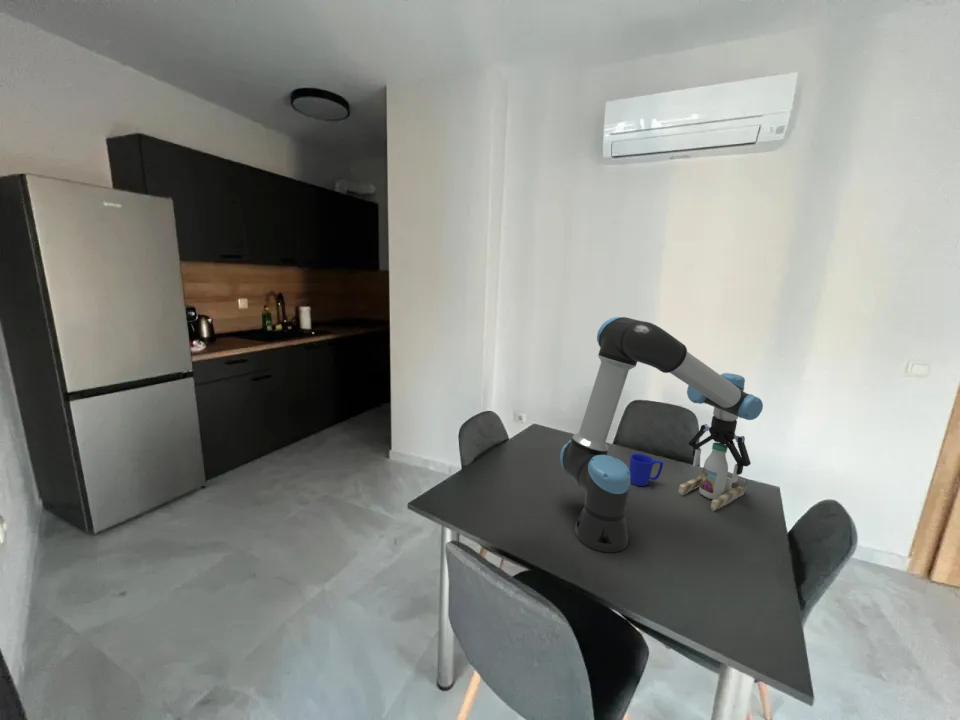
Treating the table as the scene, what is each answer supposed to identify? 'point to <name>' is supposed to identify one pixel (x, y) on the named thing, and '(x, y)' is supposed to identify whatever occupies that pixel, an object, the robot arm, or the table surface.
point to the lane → (718, 502)
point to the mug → (642, 469)
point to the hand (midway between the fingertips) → (714, 473)
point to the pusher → (728, 485)
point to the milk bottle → (714, 472)
